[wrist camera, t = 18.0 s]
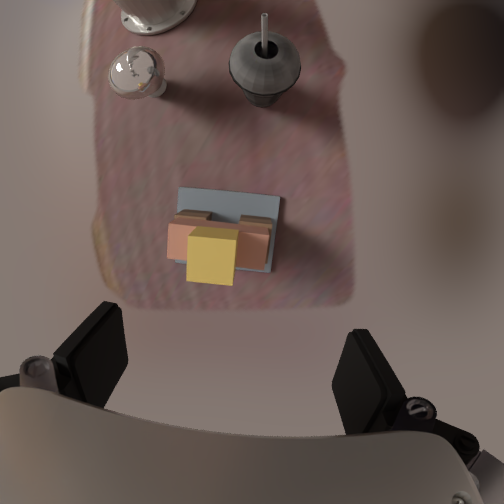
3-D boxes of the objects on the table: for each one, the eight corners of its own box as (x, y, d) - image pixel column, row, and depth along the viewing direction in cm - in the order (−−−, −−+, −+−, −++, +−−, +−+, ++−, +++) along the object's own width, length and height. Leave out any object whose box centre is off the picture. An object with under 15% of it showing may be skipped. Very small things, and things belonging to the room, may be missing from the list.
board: (180, 186, 39) (178, 187, 38) (279, 196, 39) (280, 196, 38) (176, 260, 42) (175, 262, 41) (269, 270, 42) (270, 272, 41)
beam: (267, 227, 34) (269, 235, 30) (263, 259, 35) (264, 270, 32) (178, 217, 34) (168, 223, 30) (176, 248, 35) (167, 258, 31)
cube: (197, 226, 30) (187, 235, 26) (238, 229, 30) (236, 240, 26) (195, 265, 31) (186, 280, 27) (235, 269, 32) (232, 285, 27)
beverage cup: (242, 122, 36) (231, 77, 17) (230, 76, 34) (209, 3, 15) (294, 110, 35) (331, 60, 16) (280, 65, 33) (301, -12, 14)
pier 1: (184, 209, 39) (174, 214, 34) (212, 211, 39) (206, 217, 34) (182, 243, 40) (173, 253, 35) (209, 246, 40) (203, 257, 35)
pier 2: (241, 214, 39) (239, 221, 34) (270, 217, 39) (272, 224, 34) (237, 249, 40) (235, 260, 35) (265, 252, 40) (267, 263, 36)
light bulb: (128, 101, 35) (87, 83, 23) (151, 62, 33) (118, 32, 21) (165, 117, 36) (132, 100, 24) (190, 77, 34) (166, 45, 22)
